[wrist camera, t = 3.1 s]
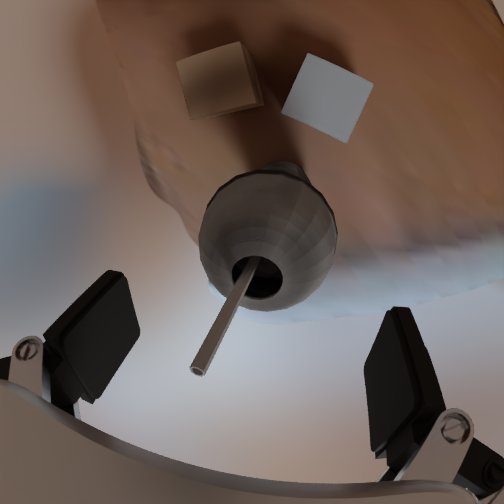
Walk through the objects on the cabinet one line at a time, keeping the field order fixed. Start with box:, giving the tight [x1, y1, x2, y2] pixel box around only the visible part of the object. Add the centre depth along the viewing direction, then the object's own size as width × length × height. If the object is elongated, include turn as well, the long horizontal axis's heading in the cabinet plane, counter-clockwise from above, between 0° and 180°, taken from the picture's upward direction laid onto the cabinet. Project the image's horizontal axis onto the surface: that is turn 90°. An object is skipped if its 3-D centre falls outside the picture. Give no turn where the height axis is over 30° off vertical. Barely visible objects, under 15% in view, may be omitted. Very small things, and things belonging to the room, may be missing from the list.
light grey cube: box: [281, 53, 374, 143], centre depth 18 cm, size 5×5×5 cm
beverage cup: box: [190, 161, 338, 376], centre depth 16 cm, size 7×7×20 cm
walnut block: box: [176, 41, 265, 120], centre depth 19 cm, size 5×5×5 cm
